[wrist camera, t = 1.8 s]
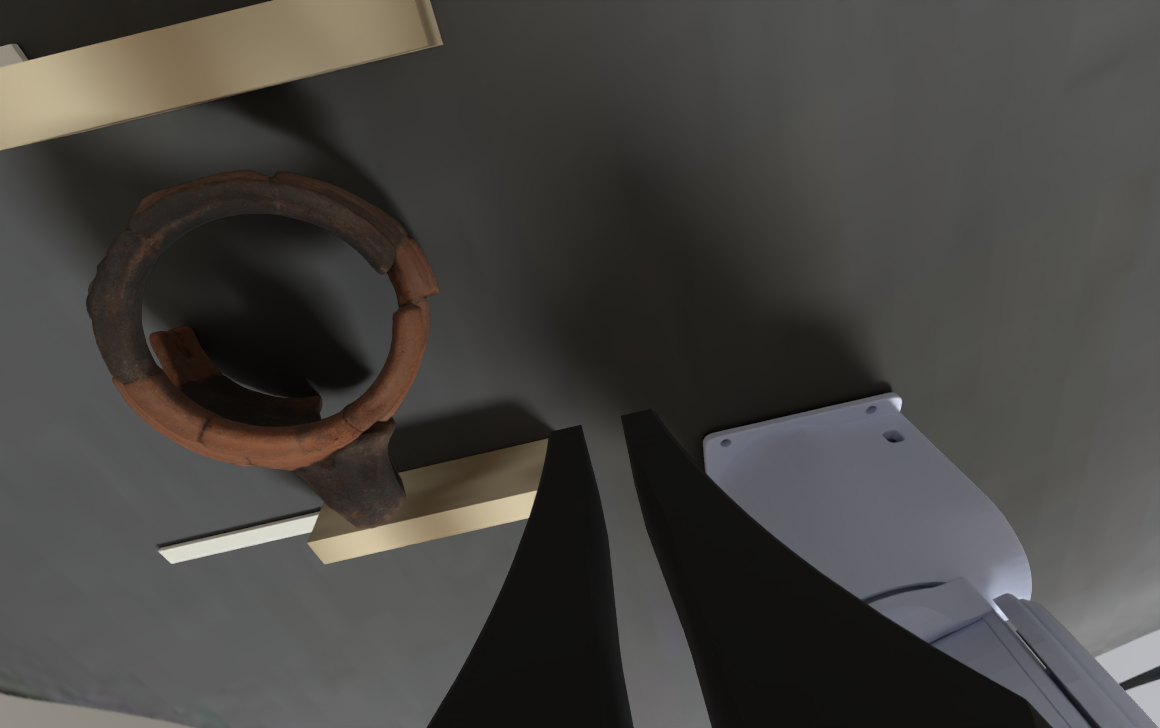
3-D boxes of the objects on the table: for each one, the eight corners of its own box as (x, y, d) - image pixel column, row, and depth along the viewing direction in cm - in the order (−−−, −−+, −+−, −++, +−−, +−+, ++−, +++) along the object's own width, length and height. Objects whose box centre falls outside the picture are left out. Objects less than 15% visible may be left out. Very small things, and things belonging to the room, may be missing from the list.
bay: (17, 44, 13) (11, 44, 13) (351, 519, 25) (350, 523, 24) (-301, 121, 14) (-311, 123, 13) (174, 560, 25) (171, 563, 24)
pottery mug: (95, 269, 17) (-97, 246, 10) (351, 162, 20) (351, 81, 13) (302, 529, 21) (277, 654, 14) (495, 407, 24) (560, 455, 16)
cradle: (424, -20, 14) (404, -32, 11) (567, 458, 24) (573, 507, 21) (38, 75, 14) (-65, 83, 11) (344, 509, 24) (324, 564, 22)
